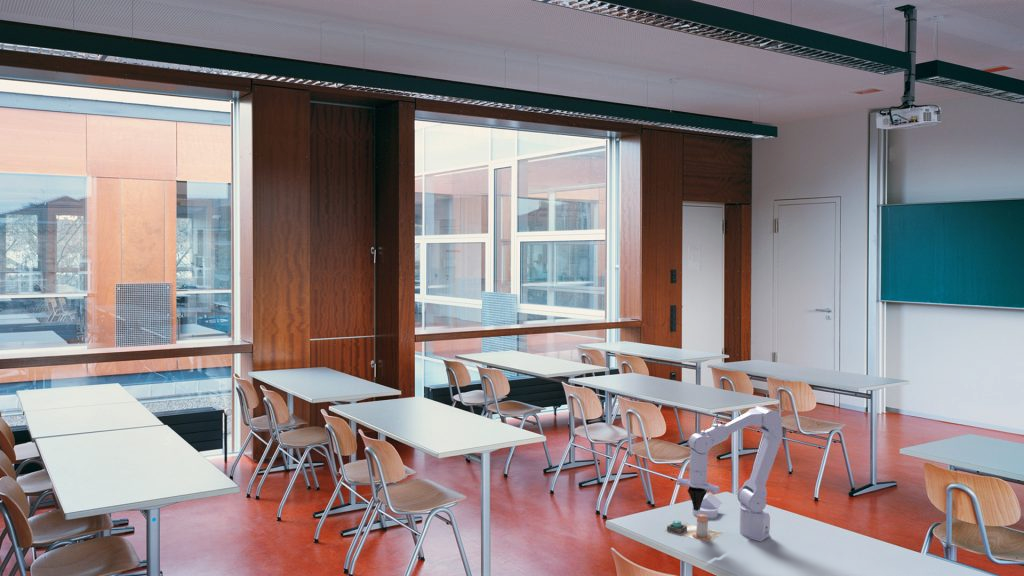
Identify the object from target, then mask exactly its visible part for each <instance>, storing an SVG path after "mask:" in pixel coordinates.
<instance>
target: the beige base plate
mask: <svg viewBox="0 0 1024 576" xmlns="http://www.w3.org/2000/svg"><path fill="white" fill-rule="evenodd" d="M681 522H682V528H680V529H678V528H675V527H673V522H672V523H671V524H668V525H666V530H665V532H667V533H671V534H675V535H679V536H682V537H687V538H690V539H693V540H697V541H701V542H706V543H710V542H712V541H713V540H715V539H716V538H718V537H720V536H721V535H723V534H724V532H721V531H719V530H718V531H717V530H713V529H711V528H710V529H709V528H708V533H707V538H699V537H697V536H696V533H697V525H695V524H690V523H686V522H683V521H681Z"/></svg>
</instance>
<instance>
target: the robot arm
mask: <svg viewBox="0 0 1024 576" xmlns="http://www.w3.org/2000/svg"><path fill="white" fill-rule="evenodd" d="M783 422H784V419H783V418H782V416H781V415H780V414H779V412H778V411H776V410H773V409H770V408H768V407H765V406H763V405H758V406H757V405H756V406H755V407H754V408H750V409H749V410H747V411H746V412H745V413H743V414H741V415H739V416H738V417H736V418H734V419H733V420H731V421H729V422H727V423H726V424H722V423H713V424H712V426H711V427H710V428H707V429H705V430H701V431H700V433H697V432H696V433H693V434H691V436H690V437H689V438H688V440H687V446H688V447H689V449H690V452H689V454H690V455H689V478H682V477H678V478H677V479H676V485H678V486H684V487H689V488H688V489H687V493H688V495H689V497H690V500H691V503H692V509H693V508H694V510H696V511H698V510H700V507H701V503H702V500H703V498H704V496H705V495H706V494H708V492H711V493H714V494H718V493H719V492H720V486H718V485H715V484H712V483H709V482H707V481H708V478H707V477H708V458H709V457H708V455H709V454H708V453H709V452H710V450H711V449H712V447H714V446H717V445H719V444H721V443H722V442H724V441H727V440H728V439H729V436H730V434H733V433H735V432H737V431H738V432H739V431H741V430H742V429H745V428H747V427H750V426H755V427H758V428H759V427H760V430H761V432H762V433H763V435H764V437H763V441H762V444H761V446H760V449H759V451H758V455H757V456H756V457H757V458H756V460H755V463H754V465H753V468H752V471H751V474H750V477H749V479H747V480H745V481H744V483H743V485H742V486H741V488H740V489H738V491H737V500H738V502H740V507H739V534H740V535H742V536H745V537H747V539H750V540H753V541H757V542H763V541H765V540H766V539H767V538H769V537H770V536H771V534H770V530H771V529H770V527H771V526H770V524H771V516H770V514H769V513H768V512H766V511H763V510H764V509H765V508H766V506H767V495H768V491H767V487H766V484H767V482H768V479H769V475H770V473H771V470H772V467H773V466H774V462H775V459H776V456H777V454H778V451H779V448H780V446H781V443H782V440H783V437H784V436H783V435H784V434H783V426H782V425H783Z"/></svg>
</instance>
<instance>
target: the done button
mask: <svg viewBox="0 0 1024 576" xmlns="http://www.w3.org/2000/svg"><path fill="white" fill-rule="evenodd" d="M682 522H683V521H680V520H673V521H672V523H673V527H675V528H678V529H680V528H682Z"/></svg>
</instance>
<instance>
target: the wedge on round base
mask: <svg viewBox="0 0 1024 576" xmlns="http://www.w3.org/2000/svg"><path fill="white" fill-rule="evenodd" d="M722 503H723V502H722V501H721V500H720V499H719V498H718V497H716V495H714V494H713V492H711V491H709V492H707V493H706V494H705V496H704V498H703V500H702V503H701V507H700V510H698V511H696V510H694V508H693V507H692V515H693V516H695V517H697V515H698V514H705V515H707V516H708V519H715V518H717V517H718V514H719V513H718V511H719V508H720V506H721V505H722Z"/></svg>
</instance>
